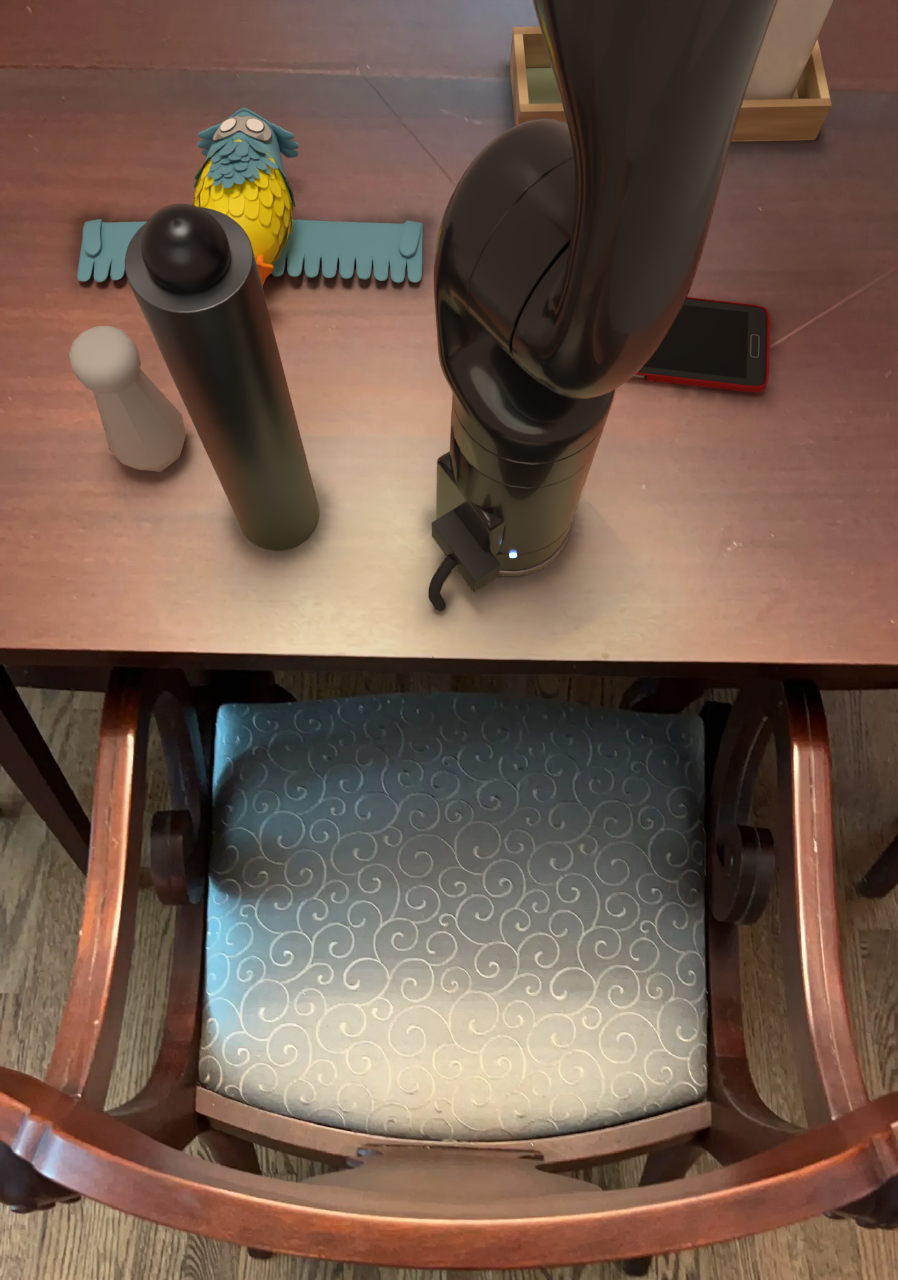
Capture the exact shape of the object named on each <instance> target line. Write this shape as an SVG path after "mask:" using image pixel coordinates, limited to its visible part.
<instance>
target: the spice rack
mask: <svg viewBox="0 0 898 1280" xmlns="http://www.w3.org/2000/svg"><path fill="white" fill-rule="evenodd" d="M818 39H819V38H818ZM818 39H817V41H816V44H815V46H814V48H813V51H812V53H811V55H810V58H809V60H808V62H807V65H806V67H805V69H804V72H803V74H802V76H801V79H800V81H799V83H798V86H797V88H796V90H795V93H794V95H793V97H792V99H768V100H743V103H742V106H741V109H740V113H739V116H738V119H737V123H736V127H735V130H734V134H733V137H732V141H731V142H769V141H770V142H771V141H772V142H773V141H774V142H775V141H776V142H777V141H815V140H817V137H818V135H819V133H820V131H821V130H822V128H823V125H824V123H825V121H826V119H827V117H828V115H829V113H830V110H831V109H832V107H833V105H832V99H831V95H830V91H829V86H828V81H827V78H826V71H825V67H824V63H823V57H822V53H821V48H820V43H819V40H818ZM510 43H511V44H510V56H509V71H510V83H511V84H510V86H511V94H512V96H511V97H512V107H513V120H514V121H513V122H514V126H516V125H518V124H520V123H523V122H526V121H530V120H536V119H554V120H558V121H561V122H565V123H567V120H566V116H565V112H564V109H563V105H562V101H561V98H560V94H559V91H558V87H557V84H556V81H555V77H554V74H553V70H552V67H551V64H550V60H549V57H548V54H547V50H546V47H545V44H544V40H543V36H542V33H541V29H540V26H513V27H512V34H511V42H510Z"/></svg>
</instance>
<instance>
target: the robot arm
mask: <svg viewBox="0 0 898 1280" xmlns="http://www.w3.org/2000/svg"><path fill="white" fill-rule="evenodd" d="M777 2H778V0H532V3H533V8H534V11H535V15H536V18H537V21H538V25H539V26H538V27H540V29H541V33H542V36H543V40H544V44H545V47H546V50H547V54H548V57H549V60H550V64H551V67H552V70H553V74H554V77H555V81H556V84H557V87H558V91H559V94H560V98H561V101H562V105H563V109H564V112H565V116H566V120H567V123H565V122H561V121H558V120H554V119H536V120H530V121H526V122H523V123H520V124H518V125H516V126H515V125H513V126H512V127H510V128H508V129H506V130H505V131H503V132H502V133H500V134H499V135H498V136H496V137H495V138H494V139H492V140H491V141H490V142H489V143H488V144H487V145H486V146H485V147H484V148H483V149H482V150H481V151H480V152H479V153H478V154H477V155H476V156H475V157H474V159H473V160H472V161H471V163H470V164H469V165H468V167H467V168H466V169H465V171H464V172H463V174H462V176H461V177H460V179H459V180H458V183H457V184H456V186H455V188H454V190H453V192H452V194H451V196H450V198H449V200H448V202H447V205H446V207H445V210H444V213H443V216H442V219H441V222H440V226H439V230H438V234H437V239H436V243H435V249H434V250H435V251H434V260H433V298H434V313H435V327H436V338H437V339H436V340H437V341H436V342H437V351H438V352H437V354H438V361H439V365H440V368H441V371H442V374H443V376H444V378H445V381H446V382H447V384H448V386H449V388H450V390H451V395H452V398H451V400H452V401H451V412H450V413H451V415H450V436H449V437H450V439H449V451H447V452H446V453H444V454H442V455H441V456H439V457H438V458H437V460H436V497H435V499H436V500H435V502H436V505H435V520H433V521H432V522H431V537H432V539H433V540H434V541H435V543H436V544H437V546H438V547H439V548H440V550H441V551H442V553H443V554H444V556H445V557H444V559H443V560H442V562H441V563H440V565H439V566H438V568H437V569H436V571H435V572H434V574H433V576H432V578H431V580H430V582H429V585H428V591H427V594H428V595H427V596H428V600H429V602H430V603H431V605H432V606H433V609H435V611H436V612H443V611H444V610H445V609H446V608H447V603H446V601H445V598H443V596H442V594H441V592H442V589H443V586H444V584H445V582H446V581H447V579H448V577H450V575H451V573H452V572H453V570H454V569H455V570H456V571H457V573H458V574H459V576H460V577H461V578H462V580H463V581H464V582H465V584H466V585H467V586H468V587H469V589H470V591H471V592H473V594H474V593H475V592H478V591H479V590H480V589H482V588H483V587H485V586H487V585H488V584H491V582H493V581H495V580H496V579H498V578H499V576H500V577H520V576H525V575H529V574H531V573H532V574H533V573H535V572H538V571H540V570H542V569H544V568H545V567H547V566H548V565H550V564H552V562H553V561H555V560H556V558H557V557H559V555H560V554H561V553H562V551H563V549H564V548H565V546H566V544H567V542H568V540H569V536H570V533H571V530H572V526H573V521H574V518H575V514H576V512H577V508H578V506H579V502H580V500H581V497H582V494H583V491H584V488H585V485H586V482H587V479H588V476H589V473H590V471H591V467H592V464H593V461H594V458H595V455H596V452H597V449H598V446H599V443H600V441H601V438H602V435H603V432H604V429H605V426H606V423H607V421H608V420H607V419H608V416H609V413H610V411H611V409H612V408H611V407H612V405H613V402H614V399H615V393H616V389H618V388H620V387H621V386H623V385H624V384H625V383H627V382H628V381H629V380H630V379H632V378H633V376H634V375H635V374H636V373H637V372H638V371H639V370H640V369H641V368H642V367H643V366H644V365H645V364H646V362H647V361H648V360H649V359H650V358H651V357H652V355H653V354H654V353H655V351H656V350H657V349H658V347H659V346H660V344H661V343H662V342H663V340H664V339H665V337H666V336H667V334H668V333H669V331H670V329H671V328H672V326H673V324H674V322H675V321H676V319H677V317H678V315H679V313H680V311H681V309H682V307H683V304H684V302H685V300H686V298H687V297H689V296H688V295H689V294H690V292H691V289H692V286H693V283H694V281H695V278H696V275H697V272H698V269H699V265H700V262H701V259H702V256H703V252H704V249H705V244H706V241H707V238H708V235H709V231H710V226H711V223H712V220H713V216H714V211H715V207H716V203H717V199H718V194H719V190H720V187H721V183H722V180H723V175H724V171H725V167H726V163H727V160H728V156H729V151H730V148H731V145H732V142H733V141H732V137H733V134H734V130H735V127H736V123H737V119H738V116H739V113H740V109H741V106H742V103H743V100H744V96H745V93H746V90H747V87H748V84H749V81H750V78H751V75H752V72H753V69H754V66H755V64H756V61H757V58H758V55H759V52H760V49H761V46H762V43H763V41H764V38H765V35H766V32H767V29H768V26H769V24H770V21H771V18H772V15H773V13H774V10H775V7H776V4H777Z"/></svg>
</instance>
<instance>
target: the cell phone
mask: <svg viewBox="0 0 898 1280" xmlns="http://www.w3.org/2000/svg"><path fill="white" fill-rule="evenodd" d="M770 335H771V315H770V312H769V310H768V308H766V307H764V306H761V305H757V304H752V303H742V302H736V301H735V302H733V301H725V300H717V299H707V298H699V297H690V296H687V298H686V300H685V302H684V304H683V307H682V309H681V311H680V313H679V315H678V317H677V319H676V321H675V322H674V324H673V326H672V328H671V329H670V331H669V333H668V334H667V336H666V337H665V339H664V340H663V342H662V343H661V344H660V346H659V347H658V349H657V350H656V351H655V353H654V354H653V355H652V357H651V358H650V359H649V360H648V361H647V362H646V364H645V365H644V366H643V367H642V368H641V369H640V370H639V371H638V372H637V373H636V374H635V375H634V376H633V377H632V378H634V379H644V380H645V381H648V382H658V383H665V384H666V383H667V384H675V385H682V386H683V385H684V386H692V387H693V386H694V387H699V388H700V387H701V388H709V389H719V390H728V391H736V392H745V393H761V392H763V391H764V390H765V389H766V387H767V385H768V383H769V376H770V343H771V342H770V339H771V338H770V337H771V336H770Z"/></svg>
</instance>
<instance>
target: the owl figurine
mask: <svg viewBox="0 0 898 1280" xmlns="http://www.w3.org/2000/svg"><path fill="white" fill-rule="evenodd" d="M197 136H198V138H199V139H200V140H199V141H198V142H197V144H196V145H197V147H198V148H199V149H202V150H201V154H202V155H203V156H204V157H205V161H204V163H203V165H202V167H200V169H199V170H198V171H197V172H196V174H195V177H194V180H195V182H194V184H193V189H195V190H194V193H193V200H192V204H191V205H194V206H197V207H202V208H208V209H213V210H216V211H219V212H221V213H223V214H225V215H227V216H229V217H230V218H232V219H233V220H235V221H236V222H237V223H238V224H239V225H240V226H241V227H242V228H243V229H244V231H245V232H246V234H247V235H248V237H249V240H250V242H251V245H252V249H253V253H254V257H255V261H256V264H257V268H258V272H259V276H260V280H261V284H262V287H263V285H265V281H266V279H267V278H268V277H269V276H270V275H272V276H273V277H275V278H276V277H277V278H278V277H281V276H282V275H284V272H285V269H286V268H287V275H289V276H290V277H292V278H297V277H299V276H301V274H302V272H303V266H304V274H305V276H306V277H307V278H310V279H313V278H314V279H315V278H316V277H317V276H318V275H319V272H320V267H321V272H322V276H323V277H325V278H326V279H332V278H334V277H336V275H337V270H338V267H339V276H340V277H341V278H342V279H344V280H349V279H351V278H352V277H354V272H355V268H356V277H357V278H358V279H360V280H368V279H370V277H371V275H372V266H373V277H374V279H376V280H377V281H378V282H379V281H380V282H384V281H385V282H386V280H387V279H388V277H389V271H390V278H391V281H392V282H394V283H396V284H401V283H403V282H404V281H405V277H406V268H407V278H408V281H410V282H411V283H418V282H420V281H421V280H422V277H423V233H424V232H423V231H424V223H423V222H420V221H416V220H409V219H408V220H405V222H404V223H393V222H392V223H391V222H369V221H368V222H363V221H361V222H360V221H333V220H316V219H315V220H314V219H313V220H312V219H293V211H294V208H296V201H295V198H294V197H295V195H294V192H293V189H292V187H291V185H290V182H289V181H288V177H287V175H286V172H285V168H284V163H283V158H282V155H283V156H285V157H286V158H290V159H291V158H296V157H298V156H299V151H298V150H297V149H299V147H300V144H299V142H297V141H295V140H294V138H295V134H294V133H293V132H290V131H289V130H286V129H284V128H283V127H281V126H279V125H277V124H275V123H272V122H271V121H269V120H267V119H266V118H265V117H263V116H261V115H260V114H258V113H256V112H254V111H252V110H251V109H249V108H247V107H243V106H242V107H241V108H240V109H238V110H236V111H235V112H234V113H232V114H231V115H230V116H229V117H227V118H226V119H225V120H224V121H223V122H219V123H218V124H215V125H212V126H210V127H208V128H206V129H203V130H201V131H200V132H198V134H197ZM148 221H149V220H147V221H115V222H105V221H103V219H102V218H100V219H91V220H87V221H85V222H84V224H83V228H82V239H81V246H80V252H79V261H78V267H77V274H76V276H77V280H78V281H80V282H87V281H89V280H91V278H92V275H93V279H94V281H95V282H96V283H102V282H103V283H104V281H106V280H107V278H108V277H109V275H110V279H111V280H112V281H118V280H121V279H122V278H123V277H124V275H125V273H126V272H125V255H126V251H127V248H128V245H129V243H130V241H131V239H132V238H133V236H134V235H135V233H136V232H137V231H138V230H139V229H140V228H141V227H142V226H143V225H144V224H145V223H146V222H148ZM286 263H287V265H286ZM320 264H321V265H320ZM338 265H339V266H338ZM355 265H356V267H355ZM286 266H287V267H286ZM406 266H407V267H406ZM389 269H390V270H389ZM109 273H110V274H109Z"/></svg>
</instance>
